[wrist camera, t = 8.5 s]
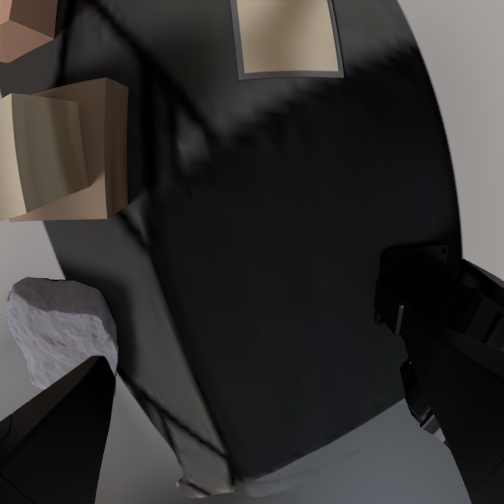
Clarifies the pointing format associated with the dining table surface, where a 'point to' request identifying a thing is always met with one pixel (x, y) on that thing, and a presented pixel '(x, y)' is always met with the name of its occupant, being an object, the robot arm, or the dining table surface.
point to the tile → (286, 39)
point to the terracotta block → (25, 26)
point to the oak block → (38, 153)
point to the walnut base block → (94, 152)
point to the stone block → (60, 327)
